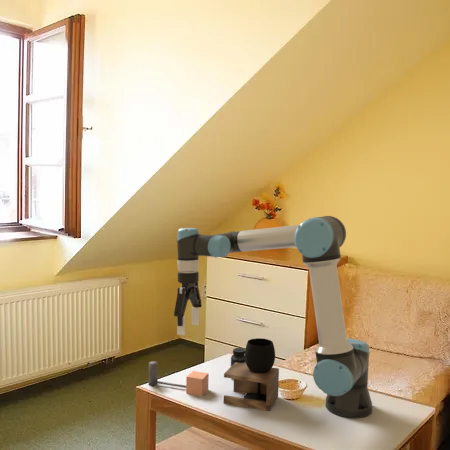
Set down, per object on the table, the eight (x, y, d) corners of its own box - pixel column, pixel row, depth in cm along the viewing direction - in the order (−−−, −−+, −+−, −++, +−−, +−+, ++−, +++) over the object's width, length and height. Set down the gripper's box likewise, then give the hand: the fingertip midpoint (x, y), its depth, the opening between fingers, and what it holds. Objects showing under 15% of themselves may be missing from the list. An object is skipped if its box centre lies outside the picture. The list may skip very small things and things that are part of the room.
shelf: (278, 396, 182) (279, 368, 182) (269, 410, 171) (270, 380, 170) (234, 390, 188) (235, 362, 187) (223, 403, 176) (224, 373, 175)
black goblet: (258, 407, 174) (259, 348, 172) (237, 397, 182) (238, 341, 180) (280, 399, 180) (281, 343, 178) (259, 390, 188) (260, 335, 186)
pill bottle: (228, 375, 201) (228, 347, 200) (243, 374, 203) (243, 346, 202) (233, 381, 195) (233, 352, 194) (248, 380, 197) (249, 351, 196)
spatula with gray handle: (208, 389, 188) (208, 367, 187) (202, 395, 182) (202, 373, 181) (152, 380, 195) (153, 359, 194) (145, 386, 189) (145, 364, 189)
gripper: (191, 265, 200) (191, 320, 202) (163, 276, 177) (164, 338, 178) (209, 266, 198) (209, 321, 200) (184, 277, 174) (184, 340, 176)
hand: (188, 329), depth 189 cm, fingers open, 13 cm apart
